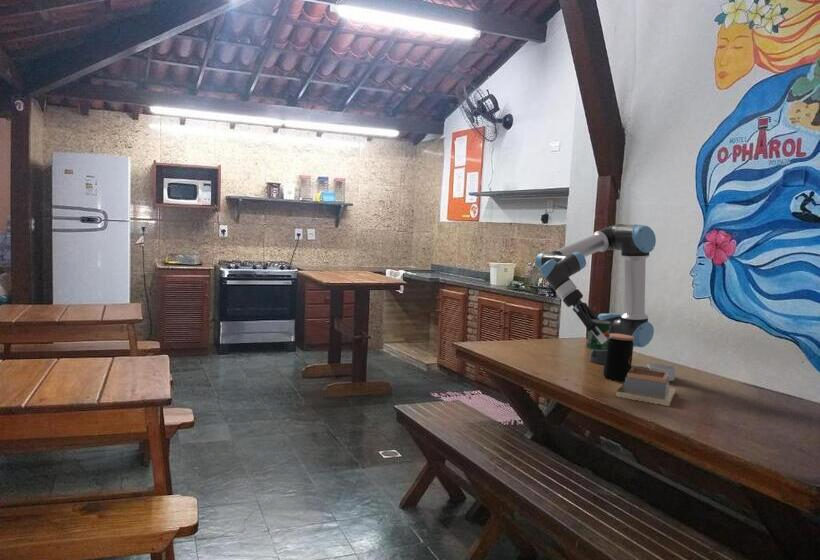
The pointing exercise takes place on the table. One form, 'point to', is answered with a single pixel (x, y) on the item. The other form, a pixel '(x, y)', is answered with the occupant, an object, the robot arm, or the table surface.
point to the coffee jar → (618, 357)
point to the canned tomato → (593, 341)
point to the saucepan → (661, 369)
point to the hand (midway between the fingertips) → (607, 340)
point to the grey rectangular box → (647, 386)
